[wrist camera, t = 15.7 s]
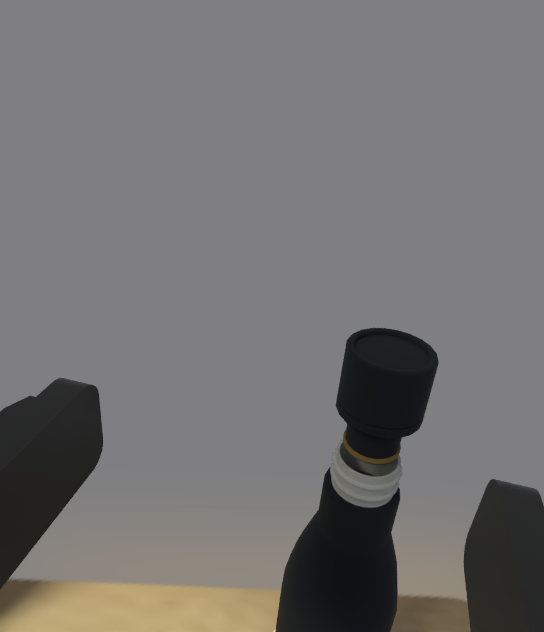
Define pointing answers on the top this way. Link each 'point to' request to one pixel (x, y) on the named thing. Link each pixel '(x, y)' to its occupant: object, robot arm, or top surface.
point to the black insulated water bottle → (360, 491)
